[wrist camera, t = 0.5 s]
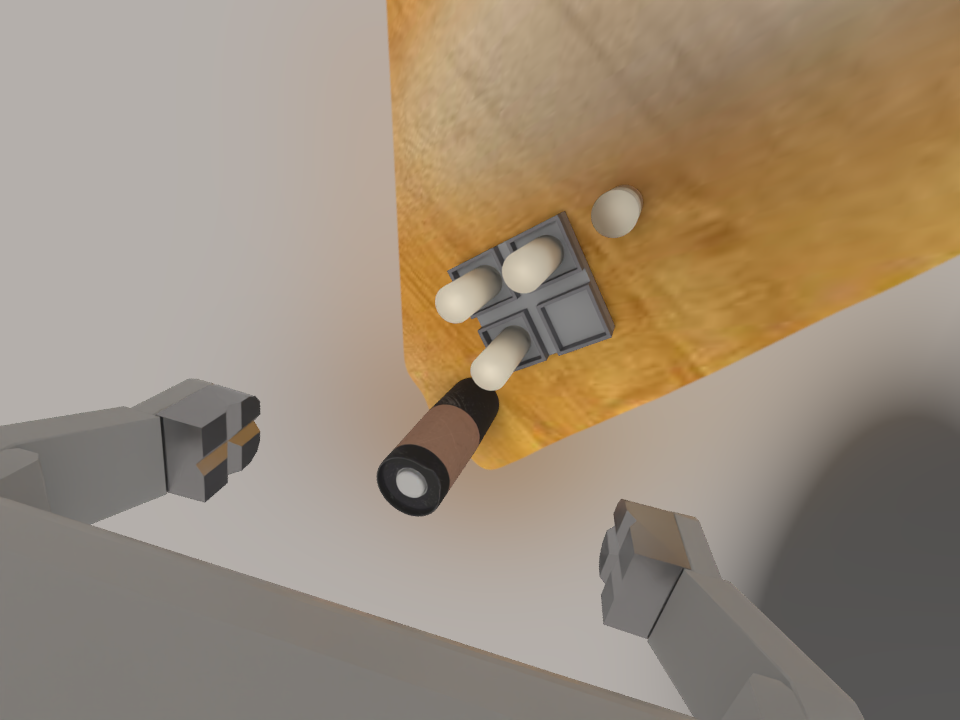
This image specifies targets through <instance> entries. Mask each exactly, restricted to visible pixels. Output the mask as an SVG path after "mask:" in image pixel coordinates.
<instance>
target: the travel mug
mask: <svg viewBox="0 0 960 720" xmlns="http://www.w3.org/2000/svg"><path fill="white" fill-rule="evenodd" d="M498 409H499V400H498V397H497V394H496V392H495V391H489V390H485V389H483V388H481V387H479V386H478V385H477V384H476V383H475V382H474V380H473V378H467V379H464V380H461V381H460V382H458V383H457V384H456V385H455V386H454V387H453V388H452V389H451V390H450V391H449V392H448V393H447V394H446V395H444V396H443V397H442V398H441V399H440V400H439V401H438V402H437V403H436V404H435V405H434V406H433V407H432V408H431V409H430V410H429V411H428V412H427V413H426V414H425V415H424V417H423V418H422V419H421V420H420V421H419V422H418V423H417V424H416V425H415V426H414V428H413V429H412V430H411V431H410V432H409V433H408V434H407V435H406V436H405V438H404V439H403V440H402V441H401V442H400V443H399V444H398V445H397V446H396V447H395V449H394V450H393V451H392V452H391V453H390V454H389V455H388V456H387V457H386V458H385V459H384V461H383V462H382V463H381V465H380V466H379V468H378V471H377V483H378V487H379V489H380V491H381V493H382V495H383V496H384V498H385V499H386V500H387V501H388V502H389V503H390V504H391V505H392V506H393V507H394V508H396V509H397V510H399V511H401V512H403V513H405V514H408V515H411V516H426V515H429V514H431V513H432V512H434V511H435V510H436V509H437V507H438V506H439V505H440V503H441V502H442V500H443V499H444V497H445V496H446V494H447V493H448V491H449V490H450V488H451V487H452V485H453V484H454V482H455V481H456V479H457V478H458V476H459V475H460V473H461V472H462V470H463V469H464V467H465V466H466V464H467V463H468V461H469V460H470V458H471V457H472V455H473V454H474V452H475V451H476V449H477V447H478V446H479V444H480V442H481V441H482V439H483V437H484V435H485V434H486V432H487V430H488V429H489V427H490V425H491V423H492V422H493V420H494V418H495V416H496V414H497V412H498Z"/></svg>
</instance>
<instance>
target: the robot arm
mask: <svg viewBox="0 0 960 720" xmlns="http://www.w3.org/2000/svg"><path fill="white" fill-rule="evenodd" d="M259 415H260V401H259V400H258V399H257V398H256V396H253V395H250V394H246V393H243V392H240V391H236V390H233V389H230V388H226V387H223V386H220V385H215V384H213V383H210V382H206V381H202V380H199V379H187V380H185V381H183V382H181V383H179V384H177V385H175V386H174V387H171V388H169V389H167V390H165V391H164V392H162V393H160V394H158V395H156V396H154V397H152V398H150V399H148V400H146V401H144V402H142V403H140V404H138V405H136V406H134V407H132V408H128V407H124V406H123V407H117V408H111V409H104V410H98V411H92V412H85V413H79V414H73V415H66V416H60V417H54V418H48V419H42V420H35V421H28V422H22V423H16V424H10V425H4V426H0V720H864V718H863V716H862V714H861V713H860V711H859V709H858V707H857V705H856V703H855V702H854V701H853V700H852V699H851V698H850V697H849V696H848V695H847V694H846V693H845V692H844V691H843V690H842V689H841V688H840V687H839V686H838V685H836V683H834V682H833V681H832V680H831V679H830V678H829V677H828V676H827V675H826V674H825V673H824V672H823V671H822V670H821V669H820V668H819V667H818V666H817V665H816V664H815V663H814V662H813V661H812V660H811V659H810V658H809V657H807V655H805V654H804V653H803V652H802V651H801V650H800V649H799V648H798V647H797V646H796V645H795V644H794V643H793V642H792V641H791V640H790V639H789V638H788V637H787V636H786V635H785V634H784V633H783V632H782V631H780V629H778V628H777V627H776V626H775V625H774V624H773V623H772V622H771V621H770V620H769V619H768V618H767V617H766V616H765V615H764V614H763V613H762V612H761V611H760V610H759V609H758V608H757V607H756V606H755V605H754V604H753V603H752V602H751V601H749V600H748V599H747V598H746V597H745V596H744V595H743V594H742V593H741V592H740V591H739V590H738V589H737V588H736V587H735V586H734V585H733V584H732V583H731V582H729V581H726V580H722V578H721V576H720V573H719V570H718V568H717V565H716V563H715V560H714V558H713V555H712V552H711V550H710V548H709V545H708V542H707V540H706V537H705V535H704V532H703V530H702V527H701V524H700V522H699V520H697V519H696V518H695V517H692V516H688V515H684V514H680V513H675V512H672V511H666V510H662V509H658V508H654V507H651V506H646V505H643V504H639V503H635V502H631V501H628V500H624V499H621V500H620V501H619V503H618V504H617V507H616V509H615V512H614V522H615V526H614V527H612V528H610V529H609V530H607V532H606V535H605V537H604V540H603V543H602V548H601V553H600V560H599V572H600V578H601V579H602V580H603V582H604V583H605V587H604V589H603V592H602V594H601V599H602V612H603V624H604V625H607V626H610V627H613V628H616V629H619V630H622V631H625V632H628V633H631V634H634V635H637V636H640V637H643V638H646V639H648V643H649V645H650V646H651V648H652V650H653V651H654V653H655V654H656V656H657V658H658V659H659V661H660V663H661V664H662V666H663V667H664V669H665V671H666V672H667V674H668V676H669V677H670V679H671V681H672V682H673V684H674V685H675V687H676V689H677V690H678V692H679V694H680V695H681V697H682V699H683V700H684V702H685V704H686V705H687V707H688V708H689V710H690V712H691V713H692V715H693V716H694V717H691V716H688V715H685V714H682V713H679V712H676V711H673V710H670V709H666V708H663V707H660V706H657V705H654V704H651V703H647V702H644V701H641V700H638V699H635V698H632V697H629V696H625V695H622V694H619V693H616V692H613V691H610V690H606V689H603V688H600V687H597V686H593V685H590V684H587V683H584V682H581V681H577V680H575V679H571V678H568V677H565V676H562V675H559V674H555V673H552V672H549V671H546V670H543V669H540V668H537V667H533V666H530V665H527V664H524V663H521V662H518V661H515V660H512V659H509V658H506V657H502V656H499V655H496V654H493V653H490V652H487V651H484V650H481V649H477V648H474V647H471V646H468V645H465V644H462V643H459V642H456V641H453V640H449V639H447V638H444V637H440V636H437V635H434V634H431V633H428V632H425V631H421V630H418V629H416V628H412V627H409V626H406V625H403V624H400V623H397V622H394V621H391V620H387V619H384V618H381V617H377V616H375V615H372V614H369V613H365V612H362V611H359V610H356V609H353V608H349V607H347V606H343V605H340V604H337V603H334V602H330V601H328V600H324V599H321V598H318V597H315V596H312V595H309V594H306V593H302V592H299V591H296V590H293V589H290V588H286V587H283V586H280V585H277V584H274V583H271V582H268V581H264V580H262V579H258V578H255V577H252V576H249V575H246V574H243V573H239V572H236V571H233V570H230V569H227V568H224V567H221V566H217V565H214V564H211V563H208V562H205V561H202V560H199V559H196V558H192V557H189V556H186V555H183V554H180V553H176V552H174V551H170V550H167V549H164V548H161V547H158V546H155V545H151V544H148V543H145V542H142V541H139V540H136V539H133V538H129V537H127V536H123V535H120V534H117V533H114V532H111V531H107V530H105V529H101V528H98V527H95V526H92V525H90V524H93V523H95V522H98V521H100V520H103V519H105V518H108V517H111V516H113V515H116V514H118V513H120V512H123V511H126V510H128V509H131V508H133V507H135V506H138V505H140V504H143V503H146V502H148V501H150V500H153V499H156V498H158V497H160V496H163V495H166V494H167V492H169V493H172V494H176V495H180V496H183V497H187V498H191V499H194V500H198V501H202V502H206V501H207V500H209V499H210V498H211V497H212V496H213V495H214V494H215V493H217V492H218V491H219V490H220V489H221V488H222V487H223V486H225V485H226V484H227V483H228V475H229V474H232V473H235V472H239V471H242V470H243V469H244V468H245V467H246V466H247V465H248V464H249V463H250V462H251V461H252V459H253V457H254V456H255V454H256V452H257V450H258V446H259V442H260V430H259V429H258V427H257V425H256V424H255V422H254V420H255V419H256V418H257V417H258V416H259Z"/></svg>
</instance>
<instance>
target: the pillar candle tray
mask: <svg viewBox="0 0 960 720" xmlns="http://www.w3.org/2000/svg"><path fill="white" fill-rule="evenodd" d="M447 272H448V273H449V275H450V277H451V279H452V281H453V282H451V283H449V284H447V285H446V286H444V287H442V288H441V289H440V290H439V291H438V293H437V295H436V299H435V305H436V309H437V311H438V313H439V314H440V316H441V317H442V318H443V319H445V320H446V321H448V322H450V323H461V322H463V321H465V320H466V319H468V318H469V317H471V319H473V318H476V317H477V318H478V320H479V322H480V324H481V326H482V327H481V328H480V329H479V330H478V333H479V335H480V337H481V339H482V341H483V343H484V345H485V347H486V349H485V350H484V351H483V352H482V353H481V354H480V355H479V356H478V357H477V358H476V359H475V360H474V361H473V363H472V365H471V376H472V378H473V380H474V382H475V383H476V384H477V385H478V386H479V387H481V388H483V389H485V390H489V391H494V390H498V389H500V388H501V387H502V386H503V385H504V384H505V383H506V381H507V380H508V378H509V377H510V376H511V374H512V373H513V372H514V371H517V370H520V369H523V368H526V367H529V366H531V365H534V364H537V363H540V362H543V361H546V360H547V358H548V357H549V355H552V354H554V353H558V355H559V356H560V355H563V354H566V353H568V352H571V351H574V350H577V349H580V348H583V347H585V346H588V345H591V344H594V343H597V342H600V341H603V340H605V339H608V338H611V337H612V334H613V331H614V327H615V325H614V323H613V321H612V318H611V316H610V314H609V312H608V309H607V307H606V305H605V302H604V300H603V298H602V295H601V293H600V291H599V289H598V286H597V284H596V282H595V279H594V277H593V275H592V273H591V270H590V268H589V266H588V263H587V261H586V259H585V256H584V254H583V252H582V250H581V247H580V245H579V243H578V240H577V238H576V236H575V233H574V231H573V229H572V227H571V224H570V222H569V220H568V217H567V215H566V213H565V211H564V212H562V213H560V214H558V215H556V216H554V217H552V218H550V219H548V220H546V221H544V222H542V223H540V224H538V225H536V226H534V227H532V228H530V229H529V230H527V231H525V232H523V233H521V234H519V235H517V236H515V237H513V238H511V239H509V240H507V241H505V242H503V243H501V244H499V245H497V246H495V247H493V248H491V249H489V250H487V251H485V252H483V253H481V254H480V255H478V256H476V257H474V258H472V259H470V260H468V261H466V262H464V263H462V264H460V265H458V266H456V267H454V268H452V269H450V270H448V271H447Z"/></svg>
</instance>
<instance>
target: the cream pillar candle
mask: <svg viewBox="0 0 960 720" xmlns="http://www.w3.org/2000/svg"><path fill="white" fill-rule="evenodd" d="M642 207H643V198H642V195H641V193H640V192H639V191H638V190H637V189H636V188H635V187H633V186H630V185H620V186H617V187H615V188H613V189H612V190H610V191H608V192H606V193H604V194H603V195H601V196H600V197H599V198H598V199H597V201H596V202H595V204H594V206H593V208H592V212H591V219H592V223H593V226H594V228H595V229H596V230H597V231H598V232H599V233H600V234H601V235H603V236H605V237H609V238H617V237H621V236H624V235H625V234H627V233H628V232H630V231H631V230H632V229H633V227H634V226H635V224H636V222H637V220H638V218H639V215H640V213H641V211H642Z"/></svg>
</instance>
